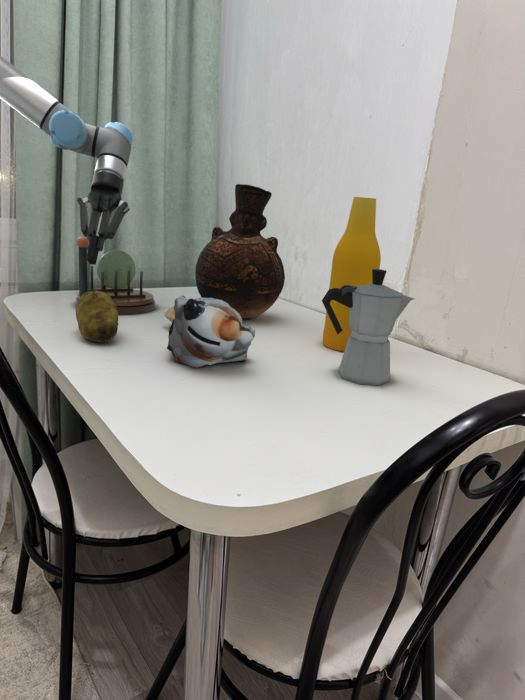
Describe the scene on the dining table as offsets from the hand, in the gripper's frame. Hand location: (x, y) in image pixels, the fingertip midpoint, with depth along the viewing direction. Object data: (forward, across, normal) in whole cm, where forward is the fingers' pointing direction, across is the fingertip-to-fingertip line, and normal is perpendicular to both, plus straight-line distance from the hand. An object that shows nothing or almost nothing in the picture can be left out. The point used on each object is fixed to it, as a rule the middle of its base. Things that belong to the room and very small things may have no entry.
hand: (91, 261), depth 122 cm
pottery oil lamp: (+20, -27, +12) cm, 36 cm away
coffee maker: (+31, -60, +28) cm, 73 cm away
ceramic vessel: (+10, -36, -3) cm, 38 cm away
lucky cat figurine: (+30, -35, +27) cm, 54 cm away
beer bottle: (+21, -60, +13) cm, 64 cm away
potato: (+26, -12, +20) cm, 35 cm away
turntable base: (+10, -8, -2) cm, 13 cm away
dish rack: (+9, -7, -1) cm, 11 cm away
